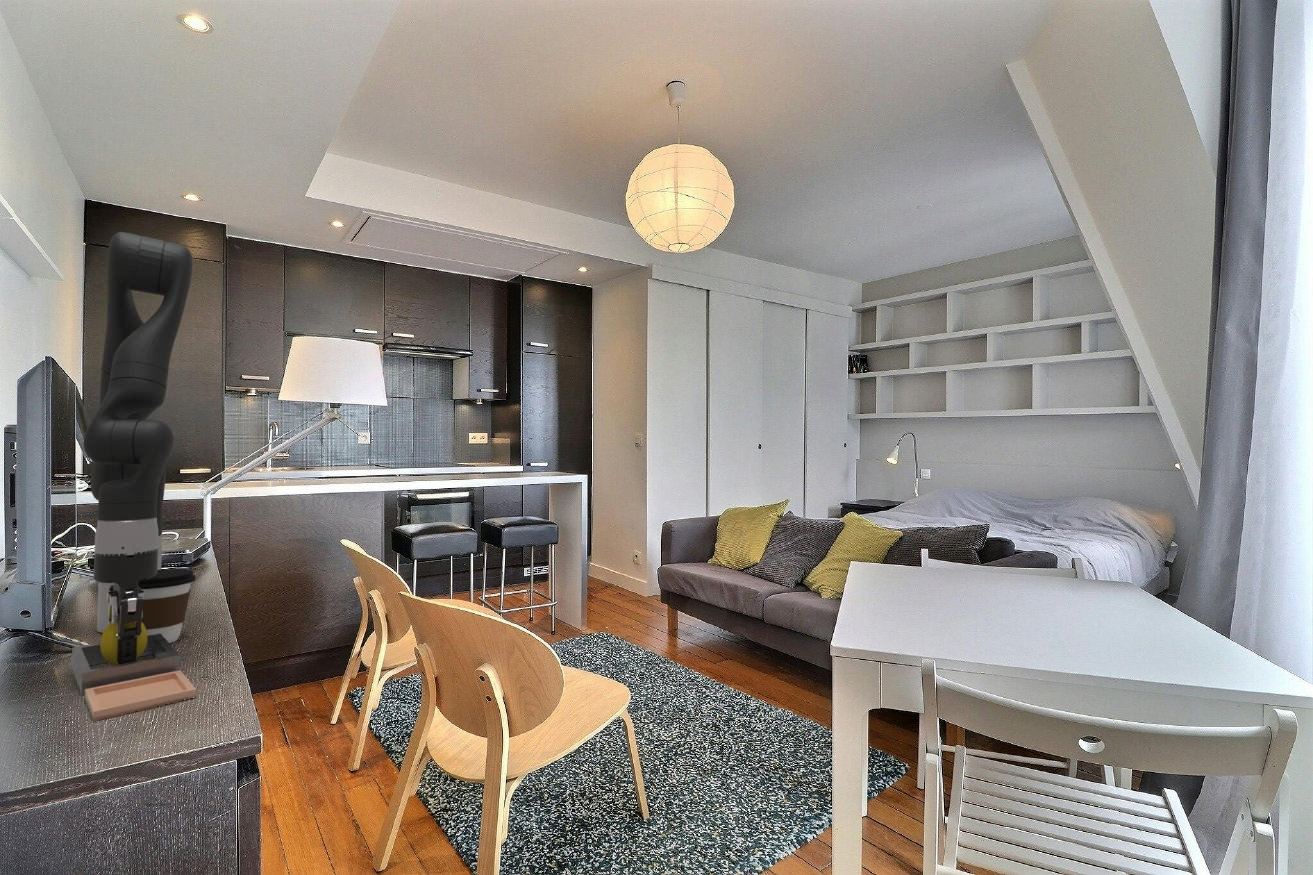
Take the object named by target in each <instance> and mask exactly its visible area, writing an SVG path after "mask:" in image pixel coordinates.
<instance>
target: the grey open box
mask: <svg viewBox="0 0 1313 875" xmlns="http://www.w3.org/2000/svg"><path fill="white" fill-rule="evenodd" d="M151 655H153V656H155V657H153V658H149V659H142V660H136V661H135V662H131V663H125V664H120V665H117V664H113V665H110V666H109V665H108V666H105V667H104V666H103V667H99V668H93V669H91V667H90V666H95V665H99V664H100V665H101V664H104V663H109V662H108V661H106V660H105V659H104V657H103V656H102V653H101V650H100V642H99V643H95V644H93V643H92V644H88V645H82V646H74V647H71V670H72V674H73V675H74V678H75V681H76V684H77V688H78V690H79V692H80V695H81V696H85V689H89V688H94V687H99V686H104V685H109V684H114V683H119V682H124V681H129V680H134V679H139V678H144V677H149V676H154V675H159V674H164V673H169V672H174V671H179V670H180V669H181V667H180V666H181V655H180V653H179V652H178V651H177V650H176V649H175V648H174V647H173V646H172V645H171V643H169V642H168V641H167V640H166V639H165V638H164V637H163V636H162V634H161V633H160V634H154V635H148V636H147V645H146V648H145V650H144V652H143V653H142V654H141V655H140V656H139V657H138V658H140V657H145V656H151Z"/></svg>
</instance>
